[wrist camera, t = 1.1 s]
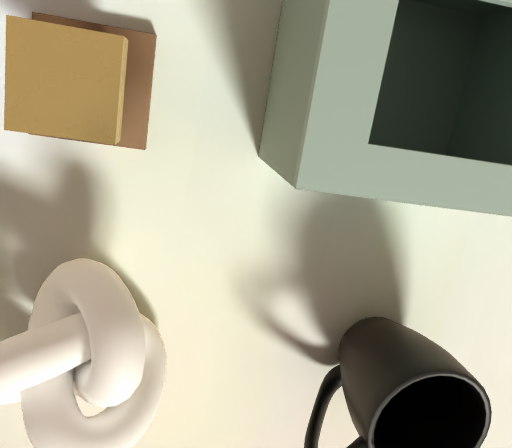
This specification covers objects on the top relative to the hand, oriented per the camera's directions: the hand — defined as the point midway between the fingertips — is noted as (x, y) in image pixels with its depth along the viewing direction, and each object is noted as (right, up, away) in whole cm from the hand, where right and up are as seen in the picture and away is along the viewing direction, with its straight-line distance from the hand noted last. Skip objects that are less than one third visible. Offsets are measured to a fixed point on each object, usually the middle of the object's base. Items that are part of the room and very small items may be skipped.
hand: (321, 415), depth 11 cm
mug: (+6, -6, +27) cm, 28 cm away
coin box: (+6, +14, +21) cm, 26 cm away
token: (-11, +12, +12) cm, 20 cm away
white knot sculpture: (-13, -2, +23) cm, 26 cm away
